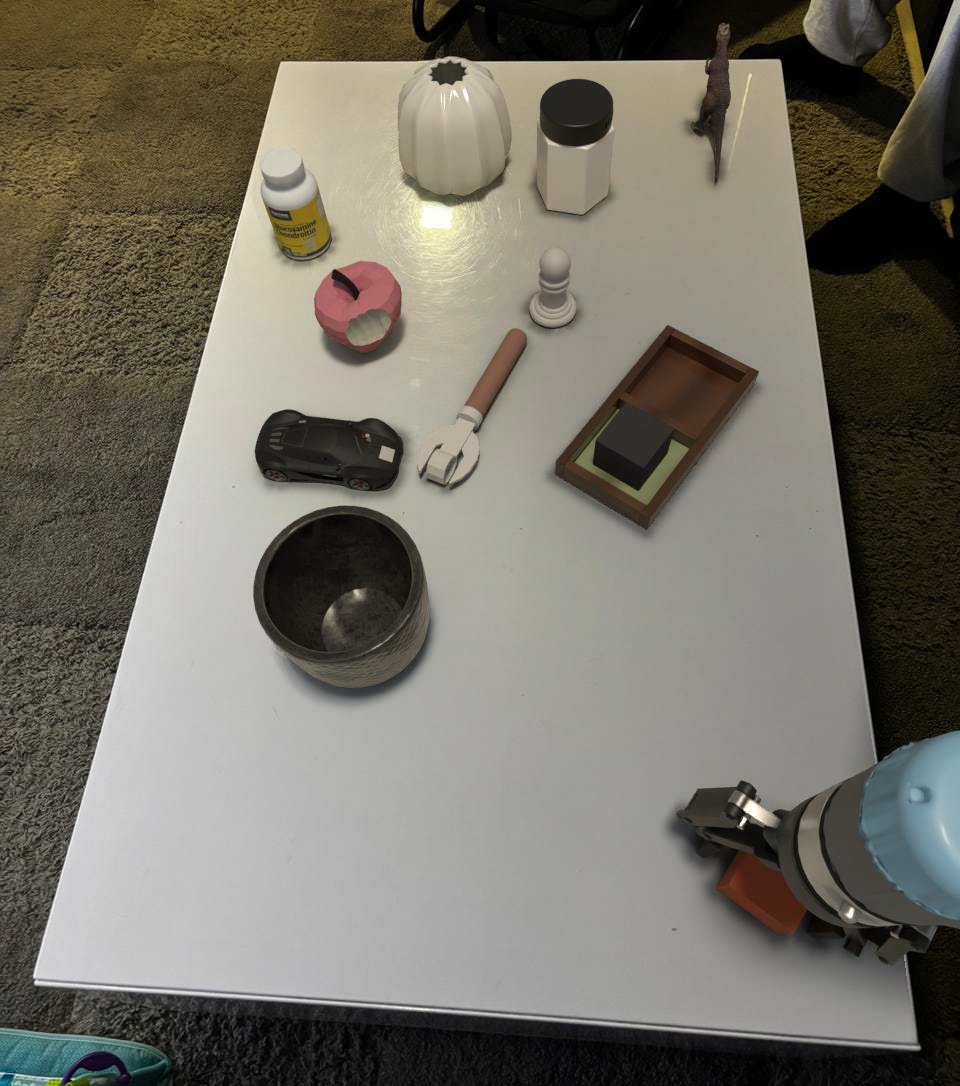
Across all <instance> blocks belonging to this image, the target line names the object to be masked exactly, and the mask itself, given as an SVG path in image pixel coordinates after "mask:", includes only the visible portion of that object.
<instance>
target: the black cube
mask: <svg viewBox="0 0 960 1086" xmlns="http://www.w3.org/2000/svg"><path fill="white" fill-rule="evenodd" d="M673 431H674V428H672V427H671V426H669V425H667V424H665V423H663V422H662V421H660V420H658V419H656V418H654V417H653V416H651V415H649V414H647V413H645V412H644V411H642V410H640V409H638V408H636V407H635V406H633V405H631V404H629V403H627V402H626V403H625V404H624V405H623V407H622V408H621V409H620V410H619V412H618V413H617V414H616V415H615V417H614V418H613V419H612V420H611V422H610V423H609V424H608V425H607V427H606V428H605V429H604V430H603V431H602V433H601V434H600V435H599V436H598V438H597V439H596V441H595V449H594V457H593V465H595V466H597V467H598V468H600V469H602V470H603V471H605V472H607V473H608V474H610V475H612V476H613V477H615V478H617V479H619V480H620V481H622V482H624V483H625V484H627V485H629V486H630V487H632V488H634V489H635V490H637V491H639V490H640V489H641V487H642V486H643V485H644V483H645V482H646V481H647V480H648V478H649V477H650V476H651V474H652V473H653V472H654V470H655V469H656V468H657V466H658V465H659V464H660V463H661V461H662V460H663V459H664V457H665V456H666V455H667V453H668V450H669V446H670V442H671V439H672V435H673Z"/></svg>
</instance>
